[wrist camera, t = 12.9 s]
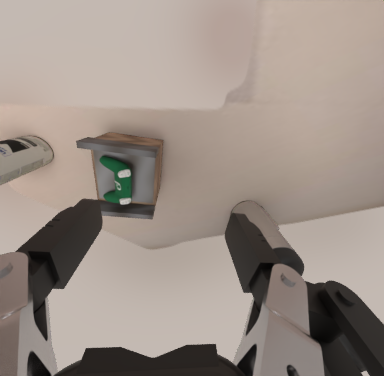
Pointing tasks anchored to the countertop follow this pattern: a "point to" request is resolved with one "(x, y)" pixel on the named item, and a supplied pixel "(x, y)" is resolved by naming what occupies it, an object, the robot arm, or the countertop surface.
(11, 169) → the spray can
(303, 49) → the countertop surface
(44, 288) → the robot arm
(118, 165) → the gaming controller
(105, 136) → the charging cradle
